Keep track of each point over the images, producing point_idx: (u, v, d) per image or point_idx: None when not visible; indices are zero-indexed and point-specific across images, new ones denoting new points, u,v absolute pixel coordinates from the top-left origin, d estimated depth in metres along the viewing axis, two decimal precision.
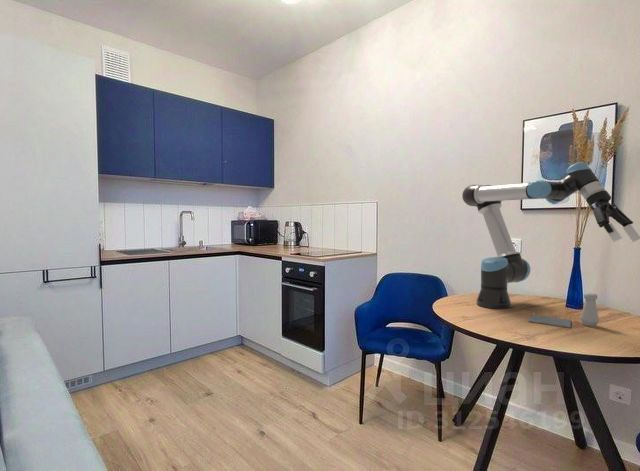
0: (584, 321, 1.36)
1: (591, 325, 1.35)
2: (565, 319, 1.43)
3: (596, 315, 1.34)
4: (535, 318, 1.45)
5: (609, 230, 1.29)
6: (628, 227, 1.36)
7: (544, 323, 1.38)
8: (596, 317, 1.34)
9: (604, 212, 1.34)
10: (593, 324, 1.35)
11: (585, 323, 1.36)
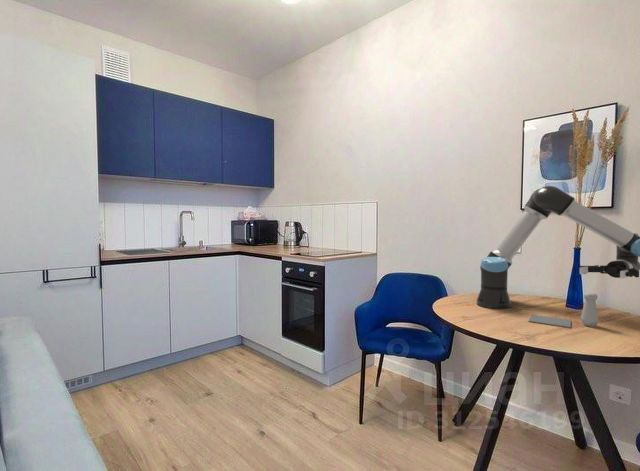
0: (584, 321, 1.36)
1: (591, 325, 1.35)
2: (565, 319, 1.43)
3: (596, 315, 1.34)
4: (535, 318, 1.45)
5: (629, 274, 1.36)
6: (587, 270, 1.50)
7: (544, 323, 1.38)
8: (596, 317, 1.34)
9: None
10: (593, 324, 1.35)
11: (585, 323, 1.36)
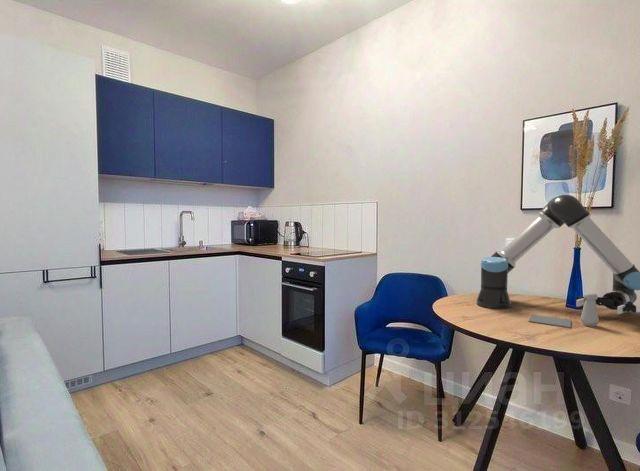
0: (584, 321, 1.36)
1: (591, 325, 1.35)
2: (565, 319, 1.43)
3: (596, 315, 1.35)
4: (535, 318, 1.45)
5: (627, 310, 1.34)
6: (583, 302, 1.48)
7: (544, 323, 1.38)
8: (596, 317, 1.34)
9: None
10: (593, 324, 1.35)
11: (585, 323, 1.36)
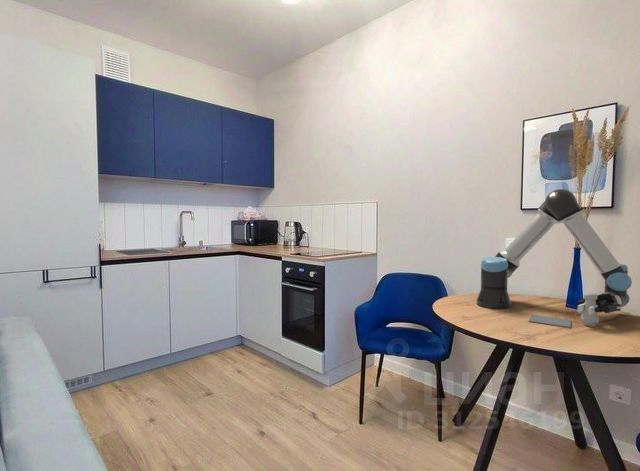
0: (584, 321, 1.36)
1: (591, 325, 1.35)
2: (565, 319, 1.43)
3: (596, 315, 1.34)
4: (535, 318, 1.45)
5: (598, 310, 1.33)
6: None
7: (544, 323, 1.38)
8: (596, 317, 1.34)
9: None
10: (593, 324, 1.35)
11: (585, 323, 1.36)
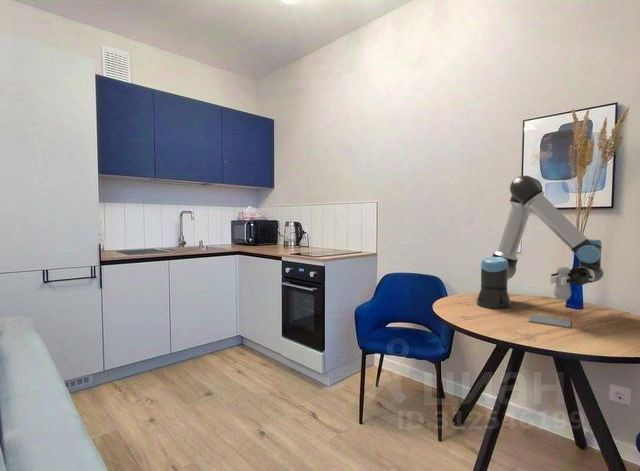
0: (556, 294, 1.39)
1: (563, 298, 1.38)
2: (565, 319, 1.43)
3: (568, 288, 1.38)
4: (535, 318, 1.45)
5: (570, 281, 1.36)
6: None
7: (544, 323, 1.38)
8: (568, 290, 1.37)
9: None
10: (565, 297, 1.38)
11: (557, 296, 1.39)
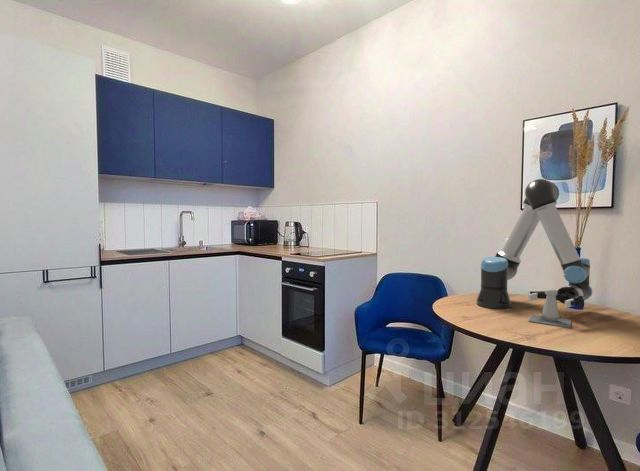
0: (544, 316, 1.42)
1: (551, 320, 1.40)
2: (565, 319, 1.43)
3: (556, 310, 1.40)
4: (535, 318, 1.45)
5: (574, 304, 1.35)
6: (536, 297, 1.49)
7: (544, 323, 1.38)
8: (556, 312, 1.40)
9: None
10: (553, 319, 1.40)
11: (545, 317, 1.41)
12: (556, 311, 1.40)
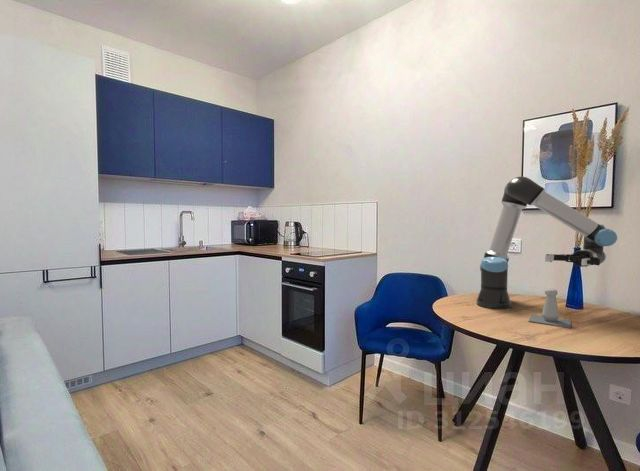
0: (544, 316, 1.42)
1: (551, 320, 1.40)
2: (565, 319, 1.43)
3: (556, 310, 1.40)
4: (535, 318, 1.45)
5: (590, 262, 1.42)
6: (552, 258, 1.55)
7: (544, 323, 1.38)
8: (555, 312, 1.40)
9: None
10: (553, 319, 1.40)
11: (545, 317, 1.41)
12: (556, 311, 1.40)
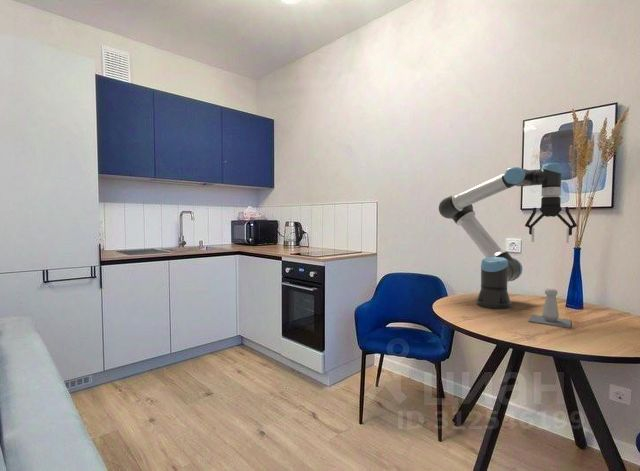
0: (544, 316, 1.42)
1: (551, 320, 1.40)
2: (565, 319, 1.43)
3: (556, 310, 1.40)
4: (535, 318, 1.45)
5: (529, 233, 1.66)
6: None
7: (544, 323, 1.38)
8: (555, 312, 1.40)
9: None
10: (553, 319, 1.40)
11: (545, 317, 1.41)
12: (556, 311, 1.40)
